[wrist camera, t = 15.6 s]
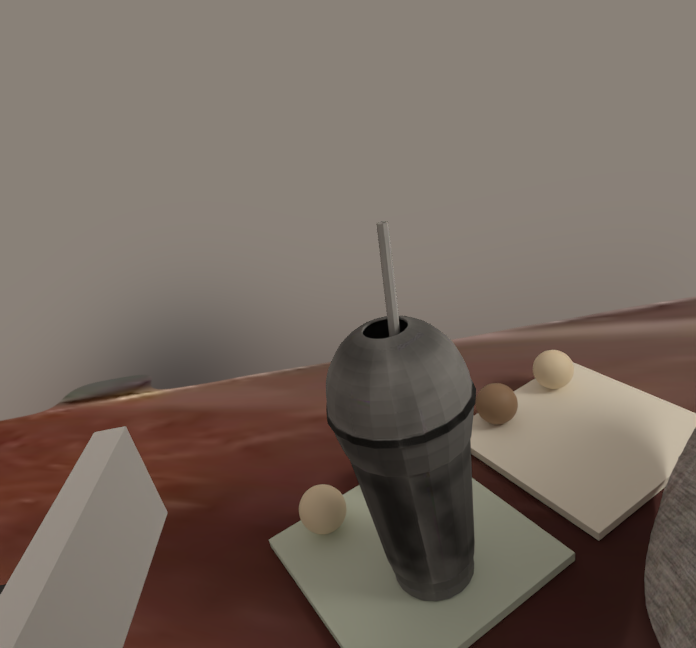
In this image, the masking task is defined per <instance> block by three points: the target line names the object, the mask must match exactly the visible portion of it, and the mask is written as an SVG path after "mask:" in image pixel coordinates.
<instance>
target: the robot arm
mask: <svg viewBox="0 0 696 648" xmlns="http://www.w3.org/2000/svg"><path fill="white" fill-rule="evenodd" d="M167 513H168V512H167V510H166V508H165V506H164V504H163V502H162V500H161V498H160V496H159V494H158V492H157V490H156V488H155V486H154V484H153V481H152V479H151V477H150V475H149V473H148V471H147V469H146V467H145V465H144V463H143V461H142V459H141V457H140V455H139V453H138V451H137V448H136V446H135V444H134V442H133V440H132V438H131V436H130V434H129V432H128V430H127V428H126V426H124V427H119V428H114V429H109V430H104V431H99V432H94V434H93V435H92V437H91V439H90V441H89V442H88V444H87V446H86V448H85V449H84V451H83V453H82V454H81V456H80V458H79V460H78V461H77V463H76V465H75V467H74V468H73V470H72V472H71V473H70V475H69V477H68V479H67V480H66V482H65V484H64V486H63V487H62V489H61V491H60V492H59V494H58V496H57V498H56V499H55V501H54V503H53V505H52V506H51V508H50V510H49V511H48V513H47V515H46V517H45V518H44V520H43V522H42V524H41V525H40V527H39V529H38V530H37V532H36V534H35V536H34V537H33V539H32V541H31V543H30V544H29V546H28V548H27V549H26V551H25V553H24V555H23V556H22V558H21V560H20V562H19V563H18V565H17V567H16V568H15V570H14V572H13V574H12V575H11V577H10V579H9V581H8V582H7V584H5V585H0V648H123V645H124V642H125V639H126V636H127V633H128V630H129V627H130V624H131V621H132V618H133V615H134V612H135V609H136V606H137V603H138V600H139V597H140V594H141V591H142V588H143V585H144V582H145V579H146V576H147V573H148V570H149V567H150V564H151V561H152V558H153V555H154V552H155V549H156V546H157V543H158V540H159V537H160V534H161V531H162V528H163V525H164V522H165V519H166V516H167Z"/></svg>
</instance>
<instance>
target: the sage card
mask: <svg viewBox="0 0 696 648" xmlns="http://www.w3.org/2000/svg"><path fill="white" fill-rule="evenodd" d="M472 490H473V514H474V538H475V547H474V574H473V576H472V579H471V581H470V583H469V584H468V585H467V587H466V588H465V589H464V590H463V591H462V592H461V593H459V594H457V595H455V596H453V597H452V598H450V599H445V600H441V601H423V600H420V599H418V598H415V597H412V596H411V595H409V594H408V593H407V592H405V591H404V590H403V589H402V588H401V586H400V585H399V583H398V582H397V580H396V575H395V573H394V571H393V569H392V567H391V565H390V564H389V562H388V559H387V557H386V554H385V552H384V549H383V546H382V544H381V541H380V538H379V536H378V533H377V530H376V528H375V525H374V522H373V520H372V517H371V514H370V512H369V509H368V506H367V504H366V501H365V498H364V496H363V493H362V491H361V488H360V485H358V486H357V487H355V488H353V489H352V490H350V491H348V492H347V493H345V494H343V495H342V494H341V493H340V491H338V490H337V489H336V488H334V487H332V486H330V485H325V484H321V485H316V486H313V487H312V488H310V489H308V490H307V491H306V492H305V493H304V495H303V496H302V498H301V501H300V504H299V515H300V519H301V520H300V521H299V522H297V523H295V524H294V525H292V526H290V527H289V528H287V529H286V530H284V531H282V532H281V533H279V534H277V535H276V536H274V537H272V538H271V539H269V543H270V546H271V548H272V549H273V550H274V552H275V553H276V555H277V556H278V558H279V559H280V561H281V562H282V563H283V565H284V566H285V568H286V569H287V571H288V572H289V574H290V575H291V576H292V578H293V579H294V581H295V582H296V584H297V585H298V587H299V588H300V589H301V591H302V592H303V594H304V595H305V597H306V598H307V600H308V601H309V602H310V604H311V605H312V607H313V608H314V610H315V611H316V613H317V614H318V615H319V617H320V618H321V620H322V621H323V623H324V624H325V626H326V627H327V628H328V630H329V631H330V633H331V634H332V636H333V637H334V639H335V640H336V641H337V643H338V644H339V646H340V647H341V648H468V647H469V646H471V645H472V644H473V643H474V642H475V641H477V640H478V639H479V638H480V637H482V636H483V635H484V634H485V633H486V632H488V631H489V630H490V629H491V628H493V627H494V626H495V625H496V624H498V623H499V622H500V621H501V620H502V619H504V618H505V617H506V616H507V615H509V614H510V613H511V612H512V611H514V610H515V609H516V608H517V607H518V606H520V605H521V604H522V603H523V602H525V601H526V600H527V599H528V598H529V597H531V596H532V595H533V594H534V593H536V592H537V591H538V590H539V589H541V588H542V587H543V586H544V585H545V584H547V583H548V582H549V581H550V580H552V579H553V578H554V577H555V576H556V575H558V574H559V573H560V572H561V571H563V570H564V569H565V568H566V567H568V566H569V565H570V564H571V563H572V562H574V561H575V552H573V551H572V550H570V549H569V548H568V547H566V546H565V545H564V544H562V543H561V542H560V541H558V540H557V539H555V538H554V537H553V536H551V535H550V534H549V533H547V532H546V531H544V530H543V529H542V528H540V527H539V526H538V525H536V524H535V523H533V522H532V521H531V520H529V519H528V518H527V517H525V516H524V515H522V514H521V513H520V512H518V511H517V510H516V509H514V508H513V507H511V506H510V505H509V504H507V503H506V502H505V501H503V500H502V499H501V498H499V497H498V496H496V495H495V494H494V493H492V492H491V491H490V490H488V489H487V488H485V487H484V486H483V485H481V484H480V483H479V482H477V481H476V480H474V479H473V478H472Z"/></svg>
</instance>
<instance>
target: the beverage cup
mask: <svg viewBox="0 0 696 648" xmlns="http://www.w3.org/2000/svg"><path fill="white" fill-rule="evenodd" d="M377 232H378V241H379V248H380V257H381V267H382V276H383V284H384V293H385V302H386V311H387V316H386V317H381V318H377V319H374V320H372V321H369V322H366V323H365V324H363V325H361V326H360V327H358V328H357V329H355V330H354V331H353V332H352V333H351V334H350V335H349V336H347V338H346V339H345V340H344V341H343V342H342V343H341V344H340V346H339V348H338V349H337V351H336V353H335V355H334V357H333V359H332V361H331V364H330V367H329V370H328V373H327V379H326V398H327V421H328V424H329V426H330V427H331V428H332V430H333V431H334V433H335V435H336V437H337V439H338V441H339V443H340V445H341V447H342V449H343V450H344V452H345V454H346V455H347V456H348V458H349V459H350V461H351V464H352V467H353V469H354V472H355V475H356V477H357V480H358V483H359V485H360V488H361V491H362V493H363V496H364V498H365V501H366V504H367V506H368V509H369V512H370V514H371V517H372V520H373V522H374V525H375V528H376V530H377V533H378V536H379V538H380V541H381V544H382V546H383V549H384V552H385V554H386V557H387V559H388V562H389V564H390V565H391V567H392V569H393V571H394V573H395V575H396V580H397V582H398V583H399V585H400V586H401V588H402V589H403V590H404V591H405V592H407V593H408V594H409V595H411V596H412V597H415V598H418V599H420V600H423V601H441V600H445V599H450V598H452V597H453V596H455V595H457V594H459V593H461V592H462V591H463V590H464V589H465V588H466V587H467V585H468V584H469V583H470V581H471V579H472V576H473V574H474V547H475V538H474V514H473V490H472V466H471V442H470V438H471V435H472V424H473V411H474V405H475V400H476V388H475V386H474V384H473V382H472V380H471V378H470V374H469V371H468V368H467V366H466V364H465V362H464V360H463V358H462V356H461V354H460V353H459V351H458V349H457V348H456V346H455V345H454V343H453V342H452V341H451V340H450V339H449V338H448V337H447V336H446V335H445V334H443V333H442V332H441V331H439V330H438V329H437V328H435V327H434V326H432V325H431V324H428V323H427V322H425V321H422V320H419V319H415V318H412V317H407V316H398V307H397V298H396V289H395V281H394V271H393V262H392V252H391V243H390V234H389V225H388V222H387V221H382V222H378V223H377Z"/></svg>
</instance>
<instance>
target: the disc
mask: <svg viewBox="0 0 696 648" xmlns="http://www.w3.org/2000/svg"><path fill="white" fill-rule="evenodd" d="M644 583H645V598H646V607H647V611H648V615H649V618H650V621H651V624H652V628H653V630H654V632H655V634H656V637H657V639H658V642H659V644H660V646H661V648H696V427H695V429H694V431H693V433H692V434H691V436H690V438H689V440H688V441H687V443H686V446H685V447H684V449H683V452H682V453H681V455H680V456H679V457H678V461H677V462H676V465H675V467H674V468H673V471H672V473H671V475H670V477H669V480H668V483H667V485H666V486H665V489H664V492H663V495H662V500H661V503H660V507H659V511H658V514H657V517H656V519H655V521H654V525H653V529H652V531H651V535H650V542H649V545H648V552H647V556H646V566H645V578H644Z"/></svg>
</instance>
